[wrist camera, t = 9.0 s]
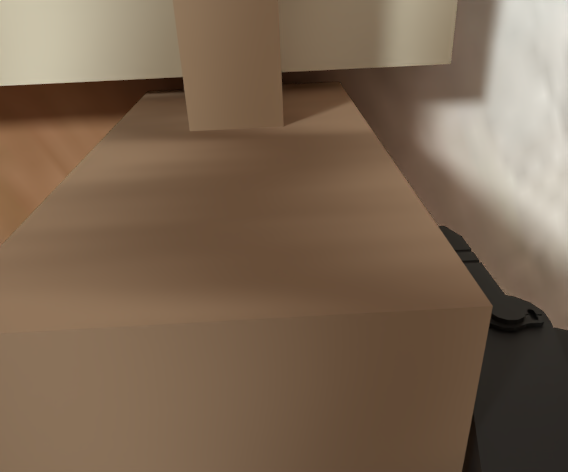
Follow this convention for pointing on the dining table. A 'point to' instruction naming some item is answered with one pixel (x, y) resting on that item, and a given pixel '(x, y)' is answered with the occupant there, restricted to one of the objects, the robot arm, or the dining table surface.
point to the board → (165, 50)
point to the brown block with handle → (236, 286)
